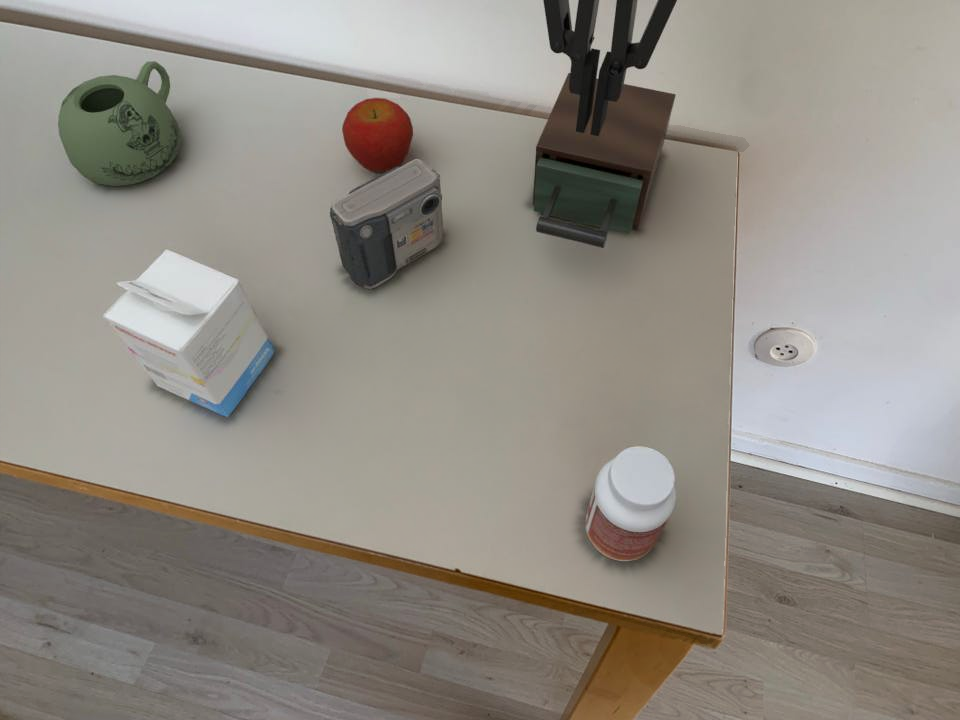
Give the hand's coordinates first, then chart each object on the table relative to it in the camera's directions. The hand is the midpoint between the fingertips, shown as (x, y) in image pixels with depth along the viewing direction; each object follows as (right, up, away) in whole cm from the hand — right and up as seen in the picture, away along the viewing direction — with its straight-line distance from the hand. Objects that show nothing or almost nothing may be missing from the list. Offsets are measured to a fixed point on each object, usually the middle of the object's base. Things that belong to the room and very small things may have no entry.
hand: (590, 123), depth 66 cm
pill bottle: (+2, -36, -3) cm, 36 cm away
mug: (-51, +4, +23) cm, 57 cm away
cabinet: (+4, 0, +19) cm, 20 cm away
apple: (-21, +2, +22) cm, 31 cm away
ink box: (-36, -22, +6) cm, 43 cm away
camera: (-19, -10, +14) cm, 26 cm away
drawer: (+2, -4, +16) cm, 16 cm away
